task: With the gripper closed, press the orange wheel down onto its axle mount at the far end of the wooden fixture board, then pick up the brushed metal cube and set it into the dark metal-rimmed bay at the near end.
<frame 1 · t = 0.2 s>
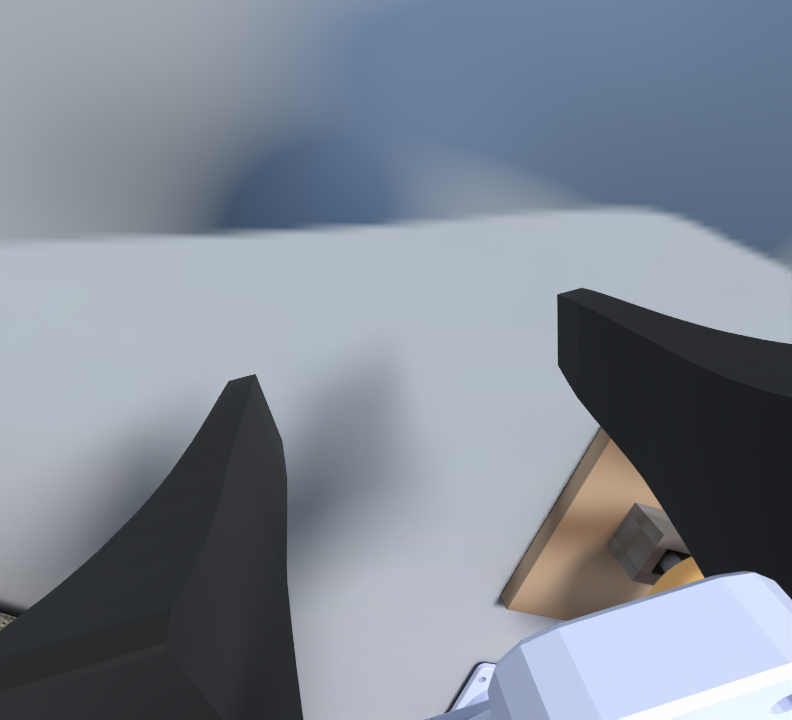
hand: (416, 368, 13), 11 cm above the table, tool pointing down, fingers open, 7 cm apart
wooden fixture board: (751, 563, 34), on the table
wheel: (697, 595, 26), point 5 cm above the table, slide at 2.0 cm
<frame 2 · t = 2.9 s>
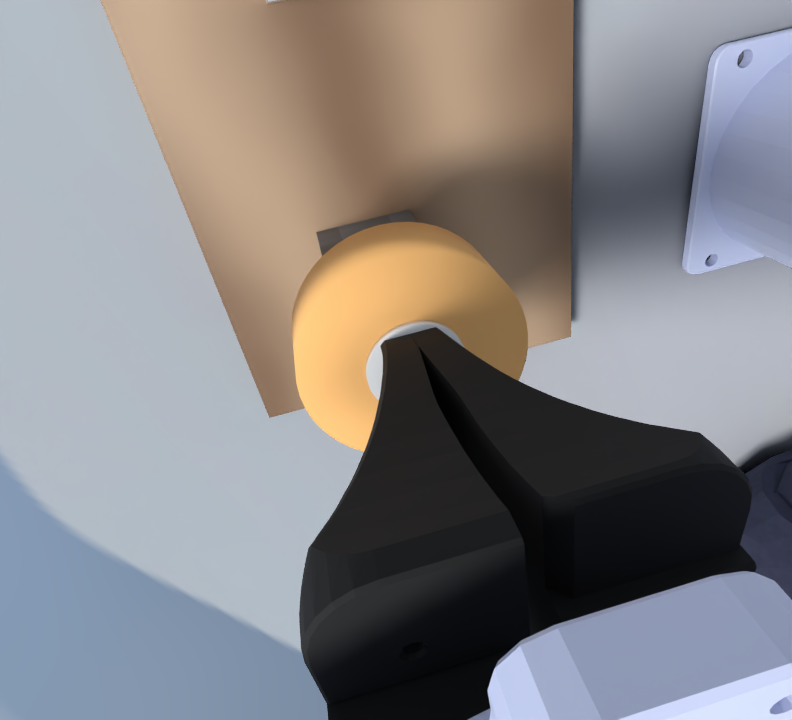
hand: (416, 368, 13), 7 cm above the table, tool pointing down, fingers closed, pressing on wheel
wheel: (397, 323, 15), point 5 cm above the table, slide at 1.6 cm, touching gripper
portable speaker: (705, 569, 36), on the table
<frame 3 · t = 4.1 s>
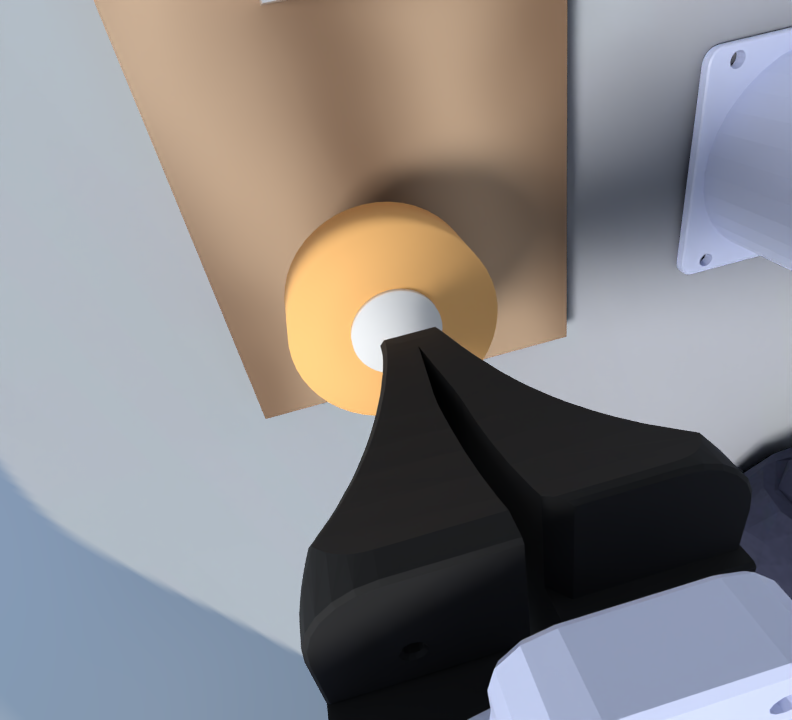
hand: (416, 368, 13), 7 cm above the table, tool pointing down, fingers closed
wheel: (381, 296, 16), point 3 cm above the table, slide at -0.1 cm, touching wooden fixture board
portable speaker: (707, 566, 36), on the table
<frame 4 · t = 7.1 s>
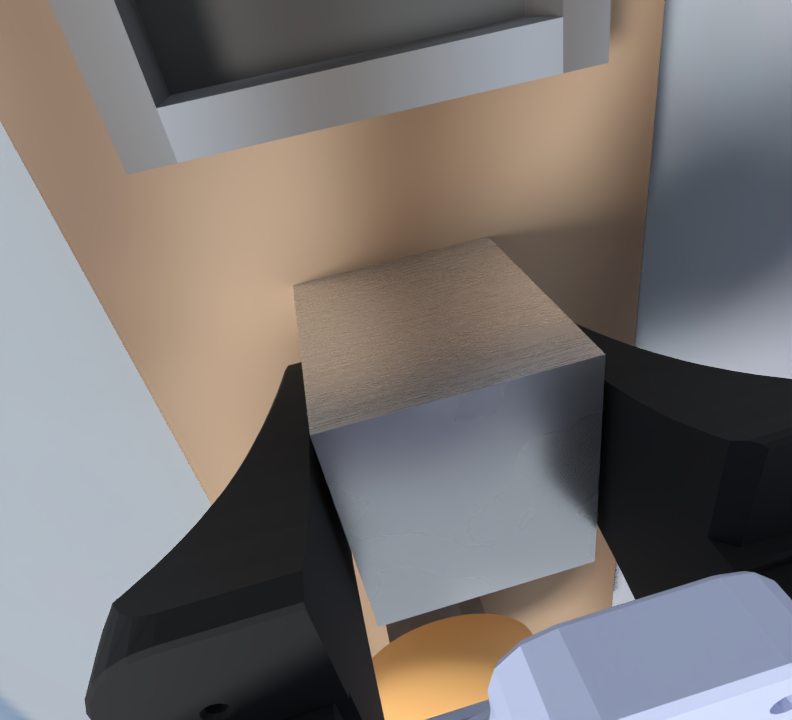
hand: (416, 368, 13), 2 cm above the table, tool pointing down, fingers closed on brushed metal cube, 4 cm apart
wooden fixture board: (401, 334, 14), on the table
brushed metal cube: (409, 354, 13), point 1 cm above the table, touching wooden fixture board, gripper
wheel: (447, 666, 17), point 3 cm above the table, slide at -0.1 cm, touching wooden fixture board
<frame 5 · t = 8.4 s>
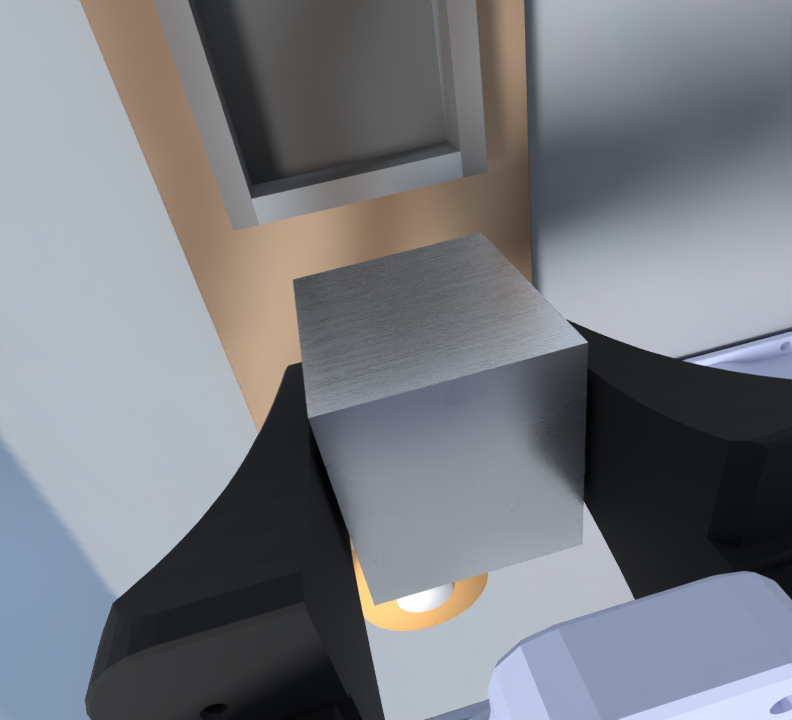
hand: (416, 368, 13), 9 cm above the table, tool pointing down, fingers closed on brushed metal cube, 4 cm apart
wooden fixture board: (381, 320, 22), on the table
brushed metal cube: (406, 346, 14), point 8 cm above the table, touching gripper
wheel: (412, 549, 25), point 3 cm above the table, slide at -0.1 cm, touching wooden fixture board
when the fingers open (4 cm above the table, at t = 10.1 s): brushed metal cube drops 1 cm, resting on wooden fixture board.
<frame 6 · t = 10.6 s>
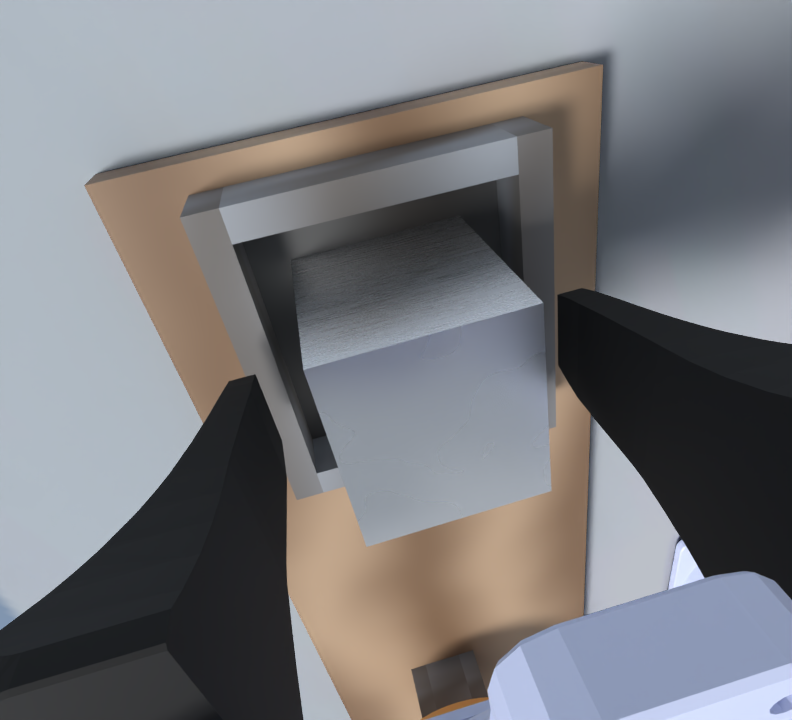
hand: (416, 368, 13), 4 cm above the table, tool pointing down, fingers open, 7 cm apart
wooden fixture board: (432, 519, 22), on the table
brushed metal cube: (394, 321, 15), point 1 cm above the table, touching wooden fixture board
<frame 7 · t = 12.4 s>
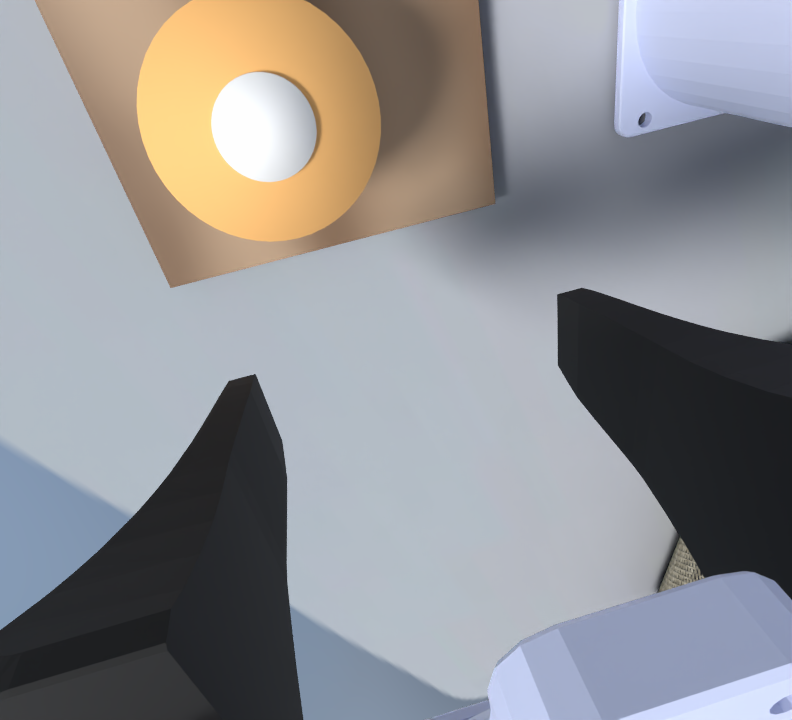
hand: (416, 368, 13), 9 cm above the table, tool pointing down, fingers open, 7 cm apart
wheel: (264, 114, 15), point 3 cm above the table, slide at -0.1 cm, touching wooden fixture board
portable speaker: (720, 486, 35), on the table
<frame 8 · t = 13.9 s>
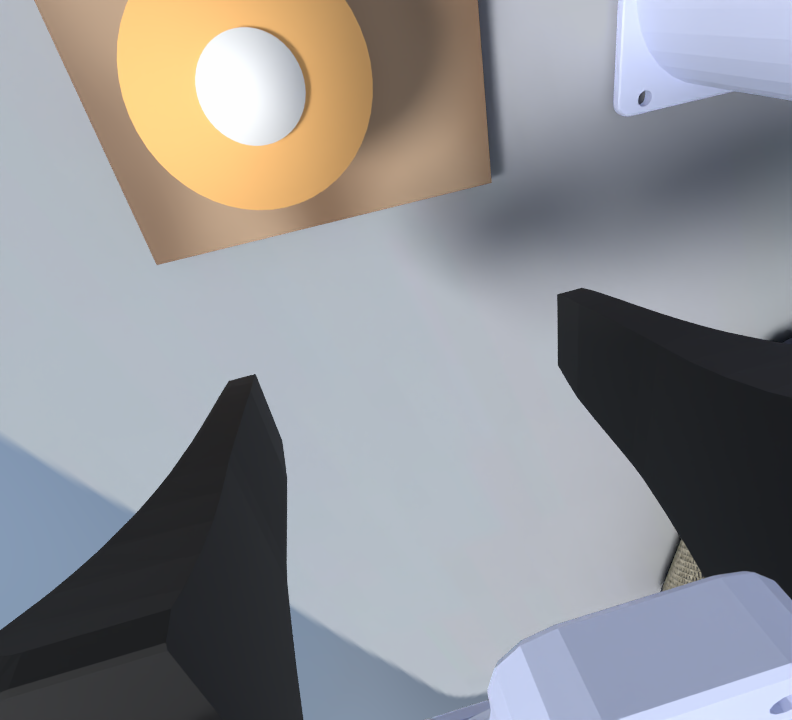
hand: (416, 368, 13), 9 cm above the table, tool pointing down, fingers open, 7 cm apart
wheel: (253, 79, 14), point 3 cm above the table, slide at -0.1 cm, touching wooden fixture board
portable speaker: (725, 478, 34), on the table
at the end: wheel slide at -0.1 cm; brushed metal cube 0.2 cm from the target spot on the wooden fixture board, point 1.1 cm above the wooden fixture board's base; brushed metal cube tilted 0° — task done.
